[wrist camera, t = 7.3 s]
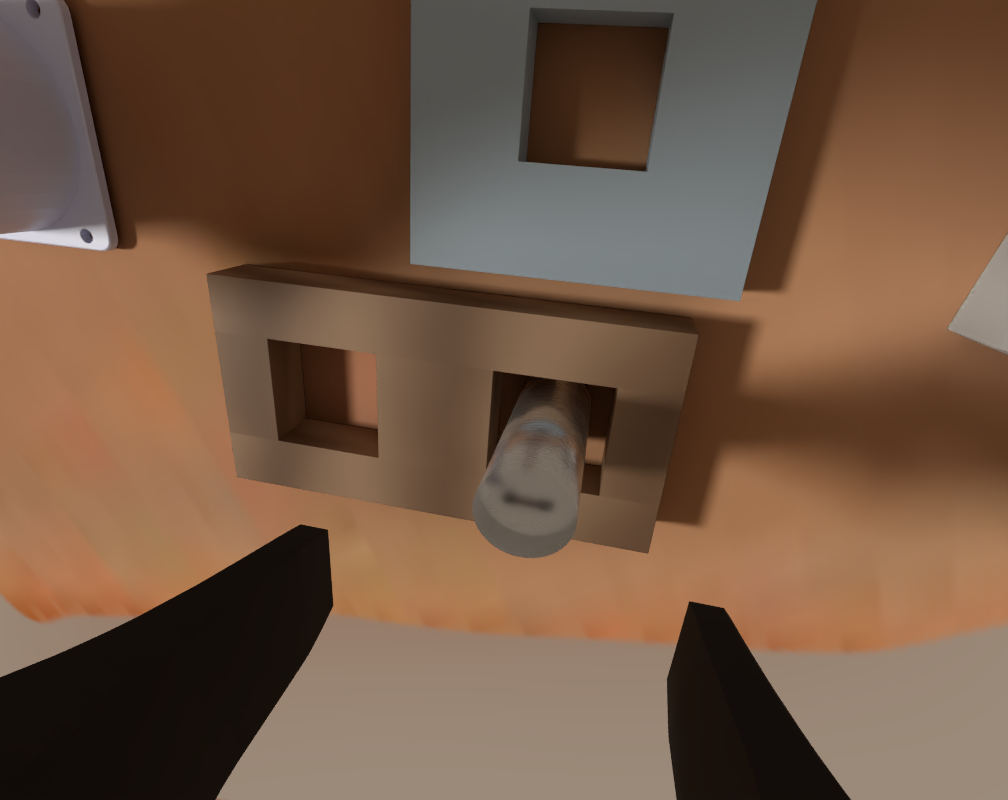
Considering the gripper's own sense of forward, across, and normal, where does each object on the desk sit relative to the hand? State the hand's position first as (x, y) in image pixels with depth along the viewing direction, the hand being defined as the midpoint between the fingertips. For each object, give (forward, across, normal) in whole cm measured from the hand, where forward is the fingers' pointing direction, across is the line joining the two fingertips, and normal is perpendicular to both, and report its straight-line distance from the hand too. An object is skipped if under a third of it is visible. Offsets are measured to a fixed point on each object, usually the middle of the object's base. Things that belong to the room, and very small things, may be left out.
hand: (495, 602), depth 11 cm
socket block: (+10, 0, -10) cm, 14 cm away
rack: (+10, +4, 0) cm, 11 cm away
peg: (+10, 0, 0) cm, 10 cm away
